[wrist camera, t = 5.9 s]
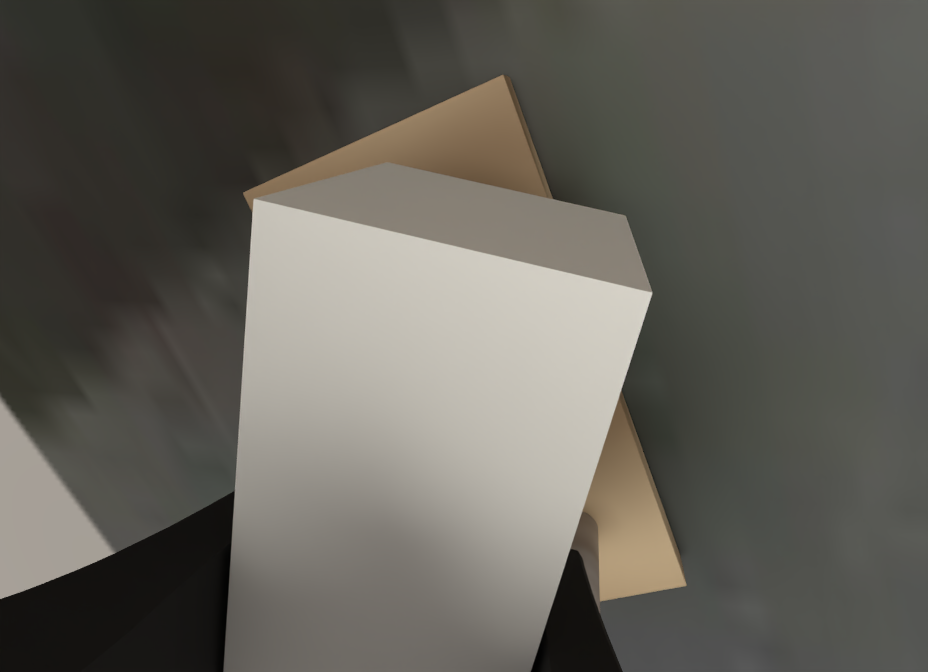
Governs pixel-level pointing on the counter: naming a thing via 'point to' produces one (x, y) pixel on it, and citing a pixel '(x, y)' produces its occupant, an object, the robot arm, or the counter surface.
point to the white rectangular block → (419, 419)
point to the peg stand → (622, 459)
